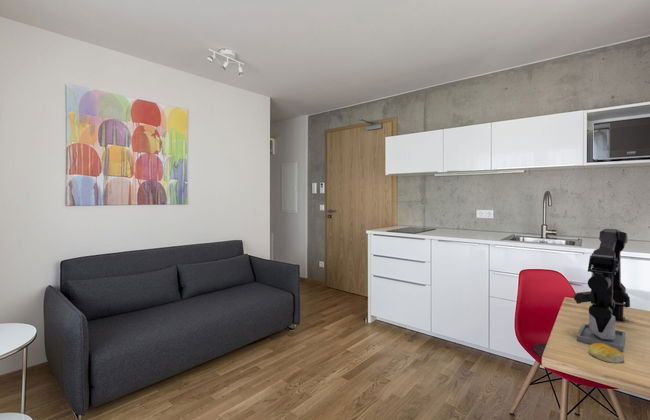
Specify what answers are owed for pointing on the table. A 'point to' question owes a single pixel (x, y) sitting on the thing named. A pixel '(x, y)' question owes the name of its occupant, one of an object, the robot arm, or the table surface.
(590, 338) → the tray
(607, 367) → the table surface
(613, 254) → the robot arm
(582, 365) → the table surface
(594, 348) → the bread roll
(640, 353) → the table surface
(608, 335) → the medicine box
